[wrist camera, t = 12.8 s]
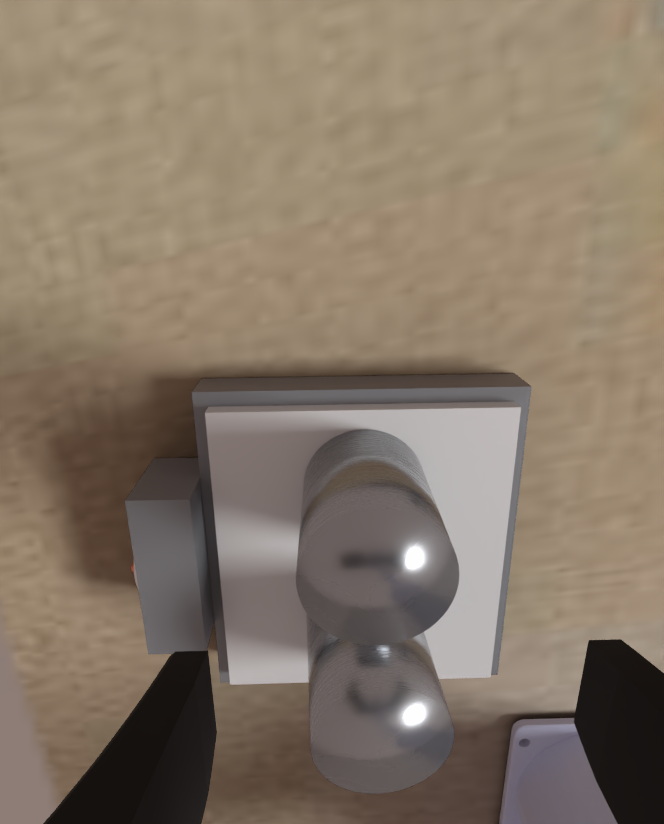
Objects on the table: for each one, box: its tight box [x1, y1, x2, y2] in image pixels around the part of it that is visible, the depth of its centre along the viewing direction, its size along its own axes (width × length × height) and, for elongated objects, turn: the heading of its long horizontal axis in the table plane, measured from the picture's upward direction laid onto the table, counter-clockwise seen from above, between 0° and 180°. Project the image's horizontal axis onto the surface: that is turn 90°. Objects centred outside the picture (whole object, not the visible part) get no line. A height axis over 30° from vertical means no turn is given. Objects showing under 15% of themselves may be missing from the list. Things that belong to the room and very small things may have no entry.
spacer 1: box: [296, 430, 459, 645], centre depth 16 cm, size 4×4×5 cm
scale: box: [125, 373, 531, 685], centre depth 19 cm, size 12×13×3 cm
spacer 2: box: [306, 614, 454, 794], centre depth 17 cm, size 4×4×5 cm
